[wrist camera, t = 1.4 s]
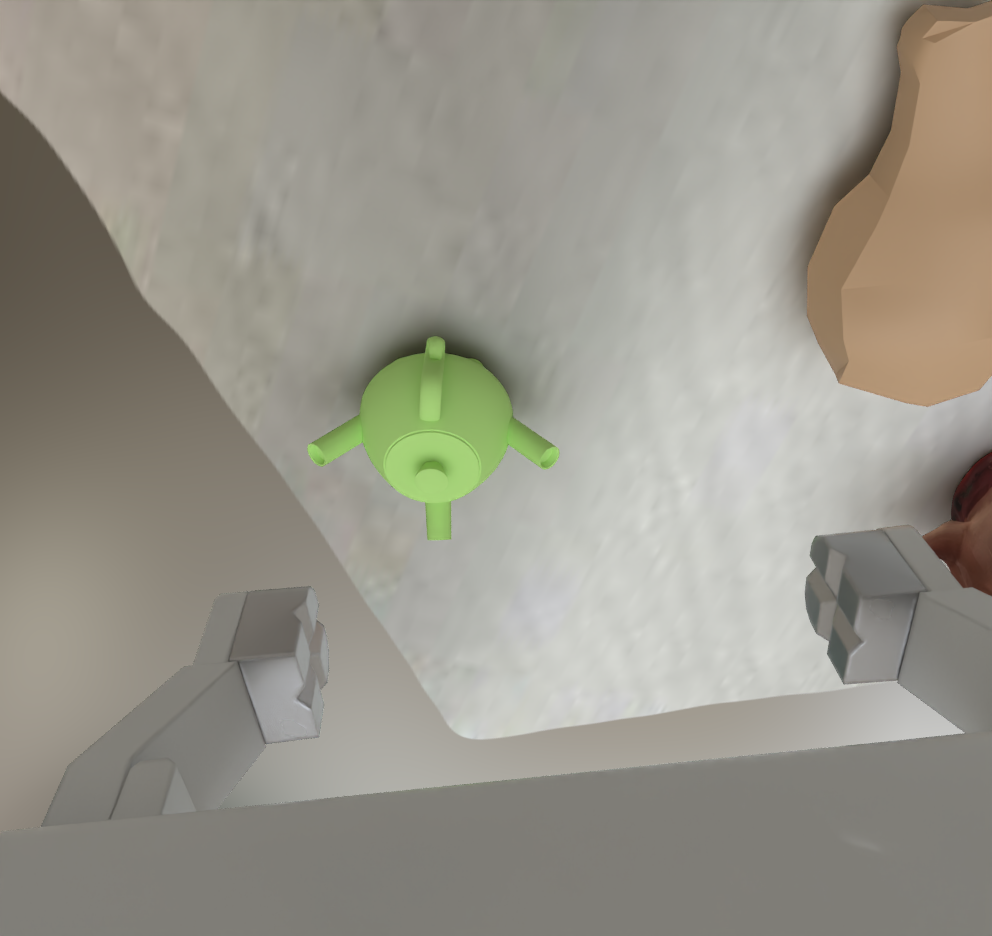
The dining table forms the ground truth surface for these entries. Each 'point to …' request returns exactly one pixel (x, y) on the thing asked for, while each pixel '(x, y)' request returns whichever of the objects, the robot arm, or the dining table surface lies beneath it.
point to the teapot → (435, 430)
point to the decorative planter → (969, 530)
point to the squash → (918, 228)
